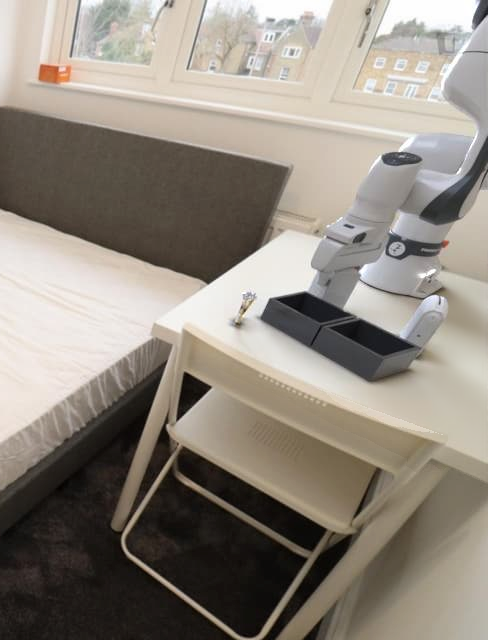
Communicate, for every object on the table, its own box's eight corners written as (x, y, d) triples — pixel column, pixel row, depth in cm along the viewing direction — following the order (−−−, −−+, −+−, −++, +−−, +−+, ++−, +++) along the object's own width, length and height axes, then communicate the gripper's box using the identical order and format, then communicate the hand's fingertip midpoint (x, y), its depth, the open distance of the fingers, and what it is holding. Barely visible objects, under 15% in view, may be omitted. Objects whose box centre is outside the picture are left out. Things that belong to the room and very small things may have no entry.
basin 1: (295, 310, 127) (305, 290, 124) (345, 337, 117) (358, 316, 114) (259, 318, 123) (269, 298, 120) (308, 346, 113) (320, 325, 110)
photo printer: (418, 360, 111) (453, 311, 103) (394, 352, 113) (427, 303, 106) (420, 342, 117) (453, 294, 110) (397, 335, 119) (429, 288, 112)
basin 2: (347, 338, 117) (359, 317, 114) (407, 369, 107) (422, 347, 104) (310, 347, 113) (322, 326, 109) (369, 381, 103) (384, 358, 100)
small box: (340, 313, 124) (362, 275, 118) (316, 311, 125) (336, 272, 118) (327, 298, 130) (348, 260, 124) (304, 295, 131) (323, 258, 125)
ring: (240, 330, 117) (254, 300, 113) (226, 325, 119) (239, 295, 115) (248, 319, 122) (262, 290, 117) (235, 315, 124) (247, 285, 119)
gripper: (378, 218, 121) (349, 271, 129) (320, 228, 115) (294, 282, 123) (406, 228, 117) (374, 282, 125) (347, 238, 110) (317, 294, 118)
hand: (334, 282), depth 124 cm, fingers closed on small box, 8 cm apart
